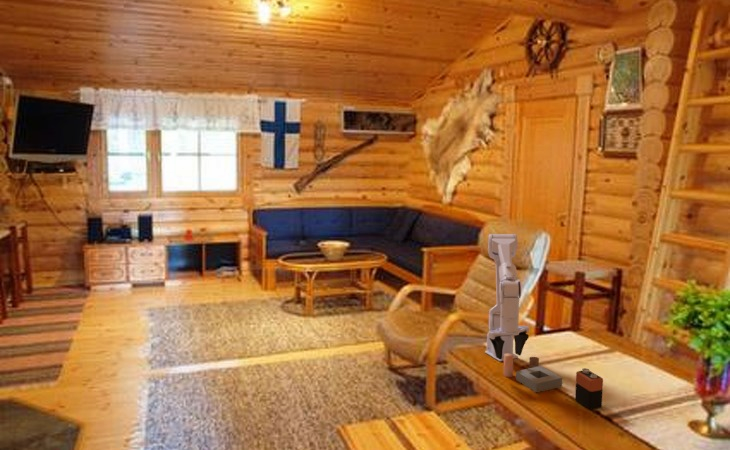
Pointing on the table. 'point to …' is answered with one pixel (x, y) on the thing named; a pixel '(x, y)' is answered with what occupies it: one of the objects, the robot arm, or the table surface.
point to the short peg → (533, 362)
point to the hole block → (538, 379)
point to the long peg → (508, 365)
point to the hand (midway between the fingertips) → (508, 356)
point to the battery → (589, 389)
